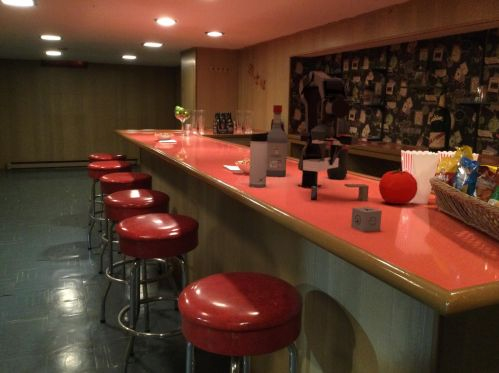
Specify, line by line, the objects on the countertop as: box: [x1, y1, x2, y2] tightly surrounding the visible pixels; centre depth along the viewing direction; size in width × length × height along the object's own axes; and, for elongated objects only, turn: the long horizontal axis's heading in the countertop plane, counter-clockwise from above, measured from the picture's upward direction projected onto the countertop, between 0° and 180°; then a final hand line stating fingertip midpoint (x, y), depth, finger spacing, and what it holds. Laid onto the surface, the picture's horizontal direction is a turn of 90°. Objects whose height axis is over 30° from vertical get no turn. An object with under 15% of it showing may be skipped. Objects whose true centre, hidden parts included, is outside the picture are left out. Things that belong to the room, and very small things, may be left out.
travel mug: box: [248, 131, 270, 188], centre depth 170 cm, size 6×7×20 cm
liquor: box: [266, 104, 288, 178], centre depth 198 cm, size 9×9×30 cm
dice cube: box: [350, 206, 383, 233], centre depth 114 cm, size 5×5×5 cm
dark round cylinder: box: [310, 186, 319, 201], centre depth 149 cm, size 2×2×4 cm
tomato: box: [378, 167, 418, 205], centre depth 146 cm, size 12×12×11 cm
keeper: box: [344, 183, 370, 202], centre depth 151 cm, size 7×4×5 cm, turn 98°
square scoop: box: [303, 157, 339, 173], centre depth 151 cm, size 16×6×3 cm, turn 143°
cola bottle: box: [326, 116, 351, 181], centre depth 195 cm, size 8×8×30 cm
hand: (326, 164), depth 153 cm, fingers closed on square scoop, 3 cm apart
